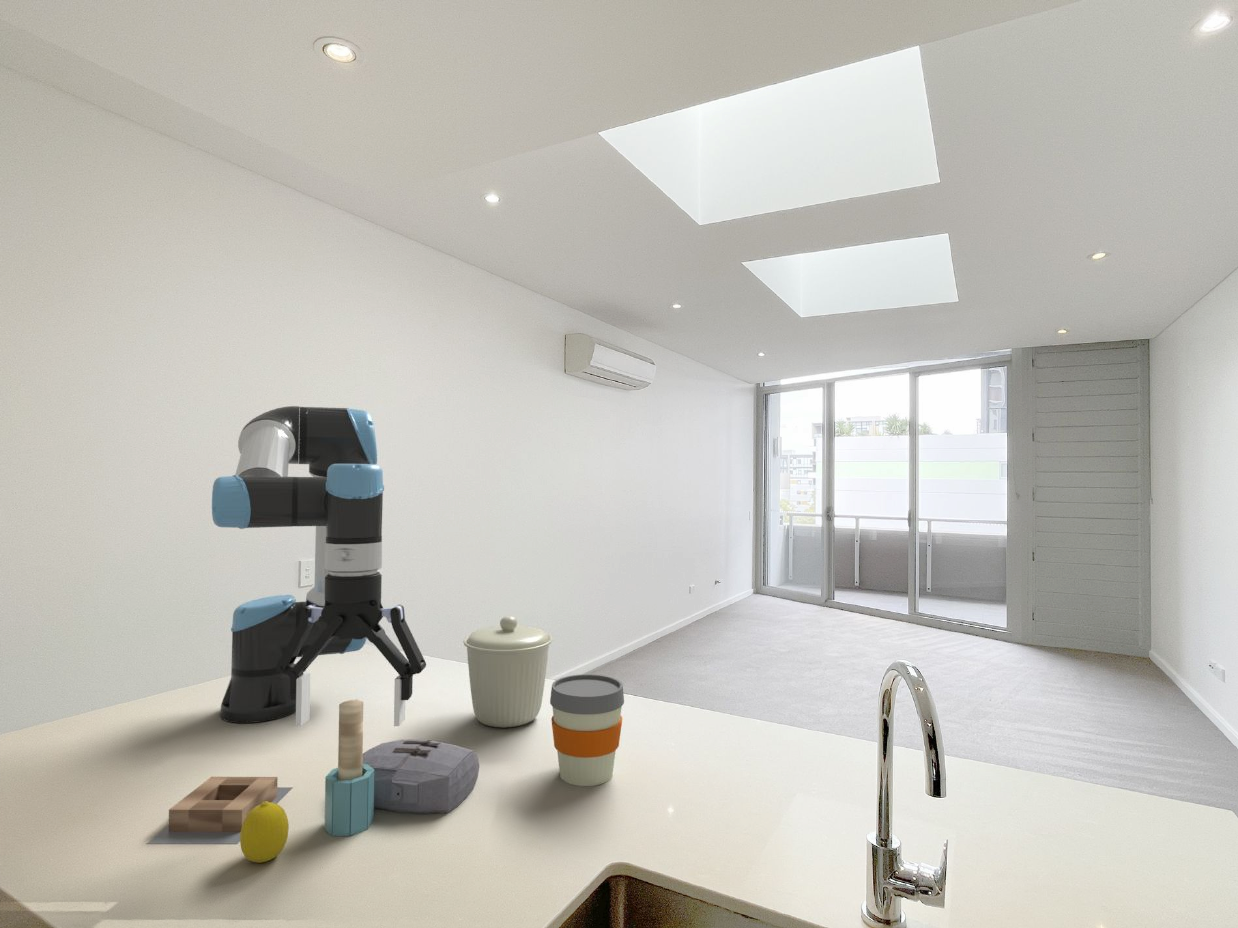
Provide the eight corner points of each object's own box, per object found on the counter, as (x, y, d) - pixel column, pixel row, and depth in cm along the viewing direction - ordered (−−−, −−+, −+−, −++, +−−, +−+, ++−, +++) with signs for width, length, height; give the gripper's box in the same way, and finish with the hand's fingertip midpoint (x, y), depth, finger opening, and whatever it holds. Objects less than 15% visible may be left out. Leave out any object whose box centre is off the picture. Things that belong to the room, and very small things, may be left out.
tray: (215, 792, 106) (215, 786, 106) (292, 792, 106) (292, 787, 106) (146, 849, 90) (146, 843, 90) (237, 849, 90) (237, 843, 90)
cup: (336, 818, 98) (337, 763, 98) (377, 818, 98) (378, 763, 98) (318, 841, 92) (319, 782, 92) (362, 841, 92) (363, 782, 92)
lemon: (251, 852, 89) (252, 792, 89) (294, 851, 90) (295, 790, 90) (231, 877, 84) (232, 813, 84) (277, 876, 84) (278, 811, 84)
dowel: (342, 818, 97) (344, 699, 97) (364, 818, 97) (366, 699, 97) (333, 830, 93) (335, 707, 94) (356, 830, 93) (358, 707, 94)
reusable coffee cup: (638, 773, 114) (639, 684, 114) (585, 799, 105) (586, 702, 105) (586, 751, 123) (588, 669, 123) (533, 773, 113) (534, 684, 114)
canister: (568, 714, 141) (570, 614, 141) (510, 743, 126) (512, 630, 126) (504, 698, 151) (505, 604, 151) (443, 722, 136) (444, 618, 136)
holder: (211, 796, 103) (211, 776, 103) (277, 796, 103) (277, 776, 103) (168, 831, 93) (168, 809, 93) (241, 831, 93) (242, 809, 93)
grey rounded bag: (488, 782, 111) (378, 769, 115) (489, 731, 111) (378, 720, 115) (446, 829, 96) (321, 813, 100) (447, 771, 96) (323, 757, 100)
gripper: (251, 575, 91) (248, 732, 91) (435, 576, 92) (433, 732, 91) (278, 567, 99) (275, 712, 98) (448, 568, 99) (446, 713, 99)
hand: (351, 722), depth 95 cm, fingers open, 13 cm apart
